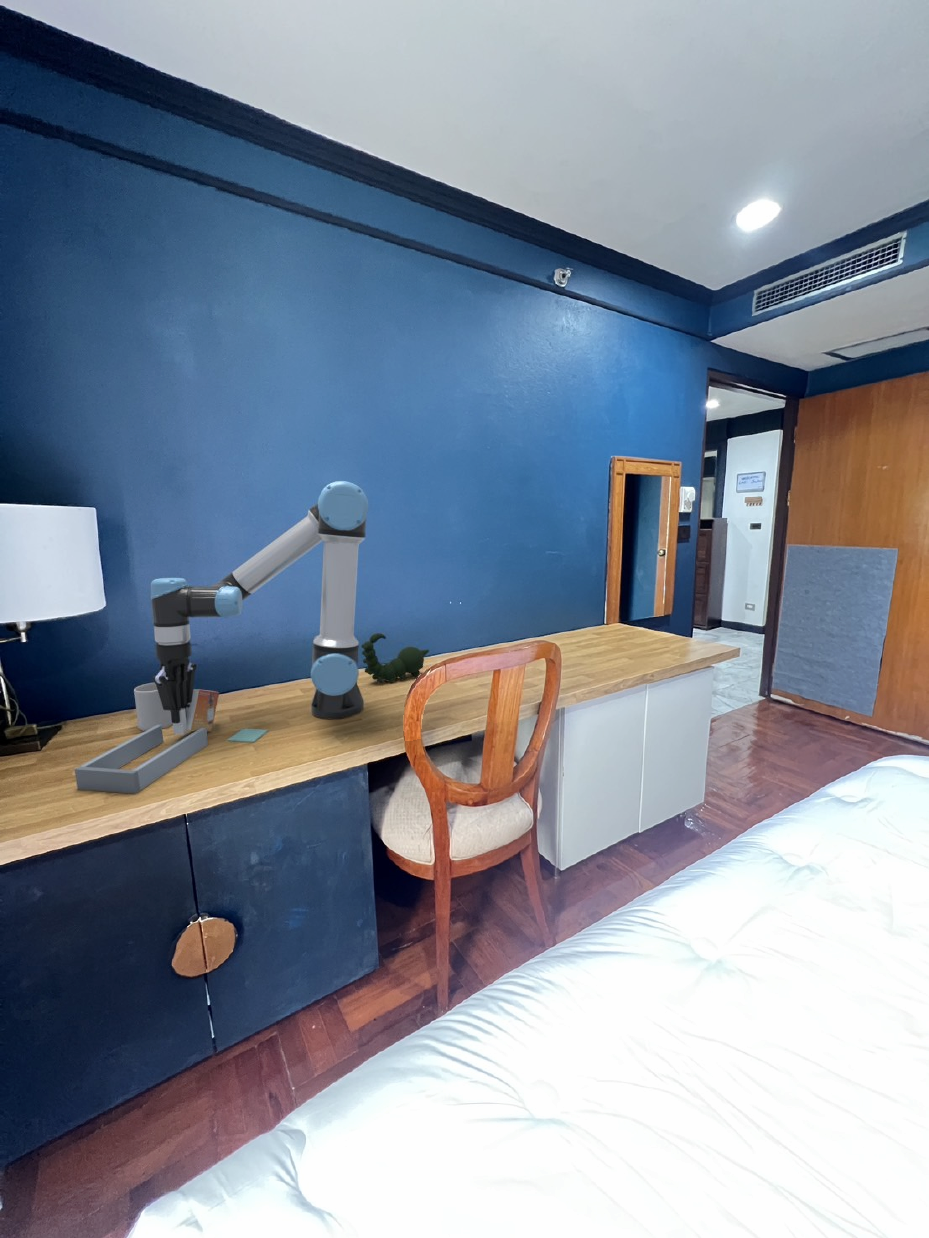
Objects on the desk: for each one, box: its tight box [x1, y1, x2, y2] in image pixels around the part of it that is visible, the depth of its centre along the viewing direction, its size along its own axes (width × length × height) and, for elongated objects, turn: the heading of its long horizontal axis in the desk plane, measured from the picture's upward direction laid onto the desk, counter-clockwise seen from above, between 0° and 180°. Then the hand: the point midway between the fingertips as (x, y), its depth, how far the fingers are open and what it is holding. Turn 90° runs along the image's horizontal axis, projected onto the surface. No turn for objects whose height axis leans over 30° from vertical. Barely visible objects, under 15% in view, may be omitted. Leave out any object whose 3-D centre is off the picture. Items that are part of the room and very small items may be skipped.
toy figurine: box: [361, 632, 430, 684], centre depth 175 cm, size 9×19×25 cm
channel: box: [74, 725, 209, 795], centre depth 113 cm, size 13×23×4 cm, turn 172°
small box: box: [186, 688, 220, 732], centre depth 130 cm, size 8×6×10 cm
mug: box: [133, 682, 173, 732], centre depth 136 cm, size 12×8×11 cm
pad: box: [227, 728, 269, 744], centre depth 129 cm, size 7×7×1 cm
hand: (180, 733), depth 125 cm, fingers closed
